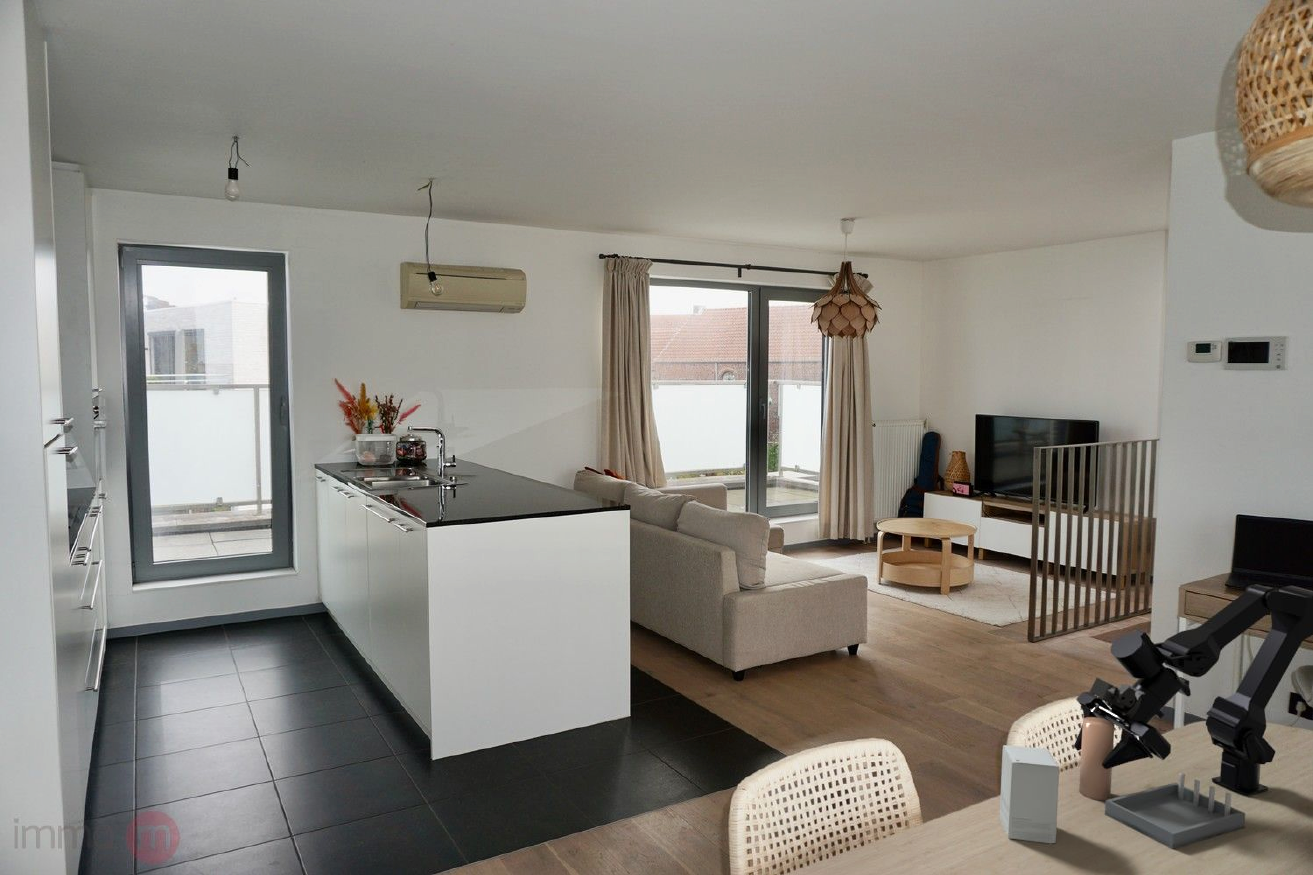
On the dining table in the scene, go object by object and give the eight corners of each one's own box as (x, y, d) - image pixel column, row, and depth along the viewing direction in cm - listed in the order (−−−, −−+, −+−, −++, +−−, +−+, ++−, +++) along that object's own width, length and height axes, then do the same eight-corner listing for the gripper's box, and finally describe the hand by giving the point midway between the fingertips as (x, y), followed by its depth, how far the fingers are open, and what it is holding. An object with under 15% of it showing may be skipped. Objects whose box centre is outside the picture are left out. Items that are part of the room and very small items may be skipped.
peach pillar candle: (1092, 785, 158) (1096, 715, 157) (1116, 797, 153) (1120, 725, 153) (1072, 789, 156) (1076, 719, 155) (1097, 802, 151) (1101, 729, 150)
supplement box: (1056, 844, 137) (1060, 766, 136) (1007, 839, 138) (1010, 761, 137) (1045, 822, 144) (1049, 747, 143) (998, 816, 145) (1001, 743, 145)
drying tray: (1175, 795, 154) (1176, 768, 154) (1244, 827, 144) (1246, 797, 143) (1104, 813, 147) (1106, 785, 147) (1172, 848, 136) (1174, 817, 136)
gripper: (1088, 648, 163) (1031, 707, 162) (1159, 682, 145) (1095, 749, 144) (1123, 688, 165) (1067, 747, 164) (1198, 726, 146) (1136, 793, 145)
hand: (1089, 757), depth 154 cm, fingers open, 7 cm apart
